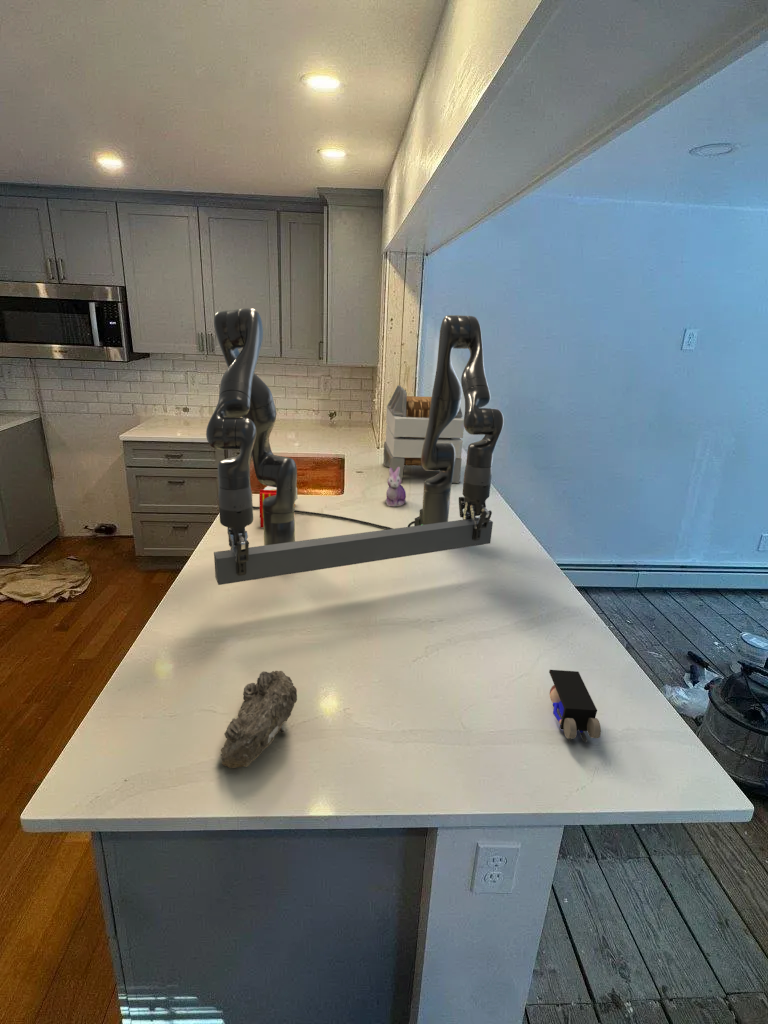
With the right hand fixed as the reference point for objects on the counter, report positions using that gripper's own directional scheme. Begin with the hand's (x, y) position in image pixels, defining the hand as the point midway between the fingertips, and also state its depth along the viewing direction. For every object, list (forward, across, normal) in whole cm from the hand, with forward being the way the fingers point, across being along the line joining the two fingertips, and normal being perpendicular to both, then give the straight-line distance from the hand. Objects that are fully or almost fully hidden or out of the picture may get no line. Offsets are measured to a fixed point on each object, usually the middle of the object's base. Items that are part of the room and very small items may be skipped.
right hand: (471, 536), depth 163 cm
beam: (+2, 0, -33) cm, 33 cm away
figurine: (+15, -69, +10) cm, 71 cm away
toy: (+15, -70, -38) cm, 81 cm away
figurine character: (+13, +61, -15) cm, 64 cm away
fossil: (+13, +41, -70) cm, 82 cm away
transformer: (+15, -106, +40) cm, 115 cm away
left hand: (0, 0, -66) cm, 66 cm away
